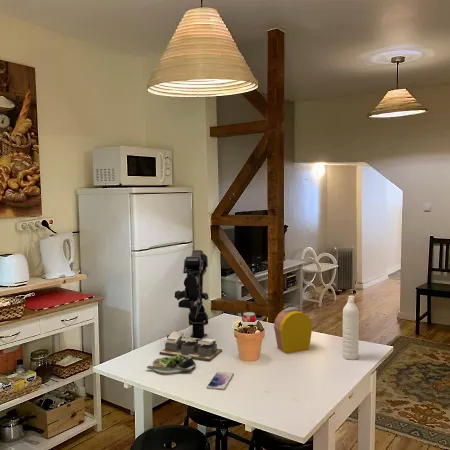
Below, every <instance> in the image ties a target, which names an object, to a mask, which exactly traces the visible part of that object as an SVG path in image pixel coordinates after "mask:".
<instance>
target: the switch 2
mask: <svg viewBox="0 0 450 450" xmlns="http://www.w3.org/2000/svg"><path fill="white" fill-rule="evenodd" d="M213 341H216V342H217V339H215V338H214V339H212V338H206V337H205V338H202V340H200V341H198V344H202V345H203V344H205V345H210V344H213Z"/></svg>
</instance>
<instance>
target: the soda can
mask: <svg viewBox="0 0 450 450" xmlns="http://www.w3.org/2000/svg"><path fill="white" fill-rule="evenodd" d="M257 320H258V319H257V316H256V313H255V312H253V311H248V312H247V311H245V312H243V313H242V316H241V322H242V321H243V322H255V321H257ZM257 322H258V321H257Z"/></svg>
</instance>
